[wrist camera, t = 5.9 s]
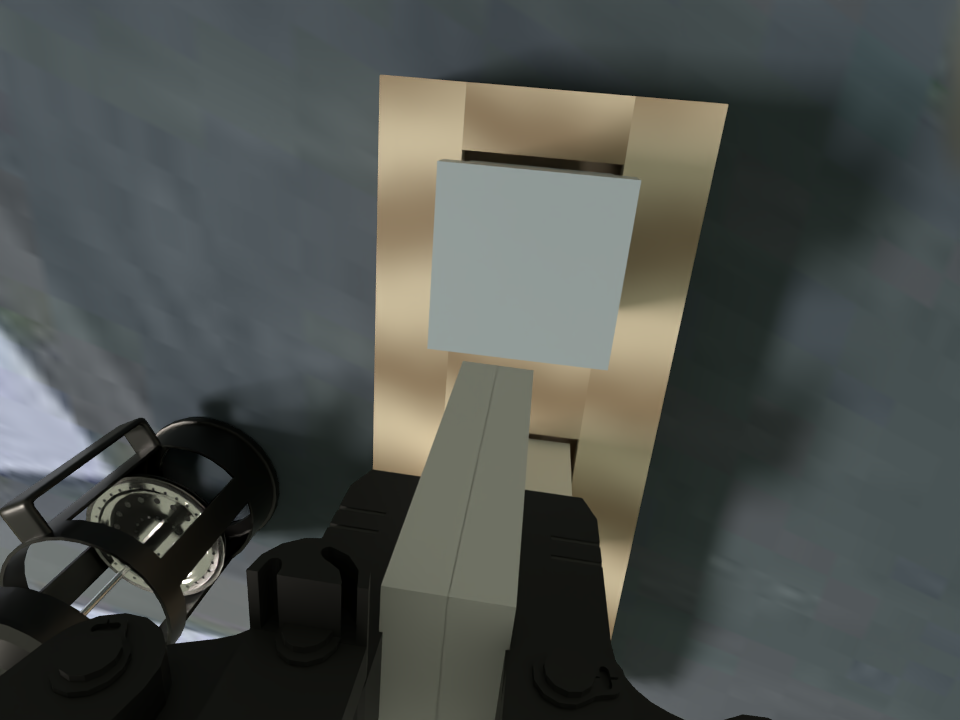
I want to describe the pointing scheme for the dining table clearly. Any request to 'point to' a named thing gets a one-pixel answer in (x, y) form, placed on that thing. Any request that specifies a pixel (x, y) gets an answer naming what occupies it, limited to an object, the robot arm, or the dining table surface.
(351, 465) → the dining table surface
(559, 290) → the slate key
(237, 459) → the french press
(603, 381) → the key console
